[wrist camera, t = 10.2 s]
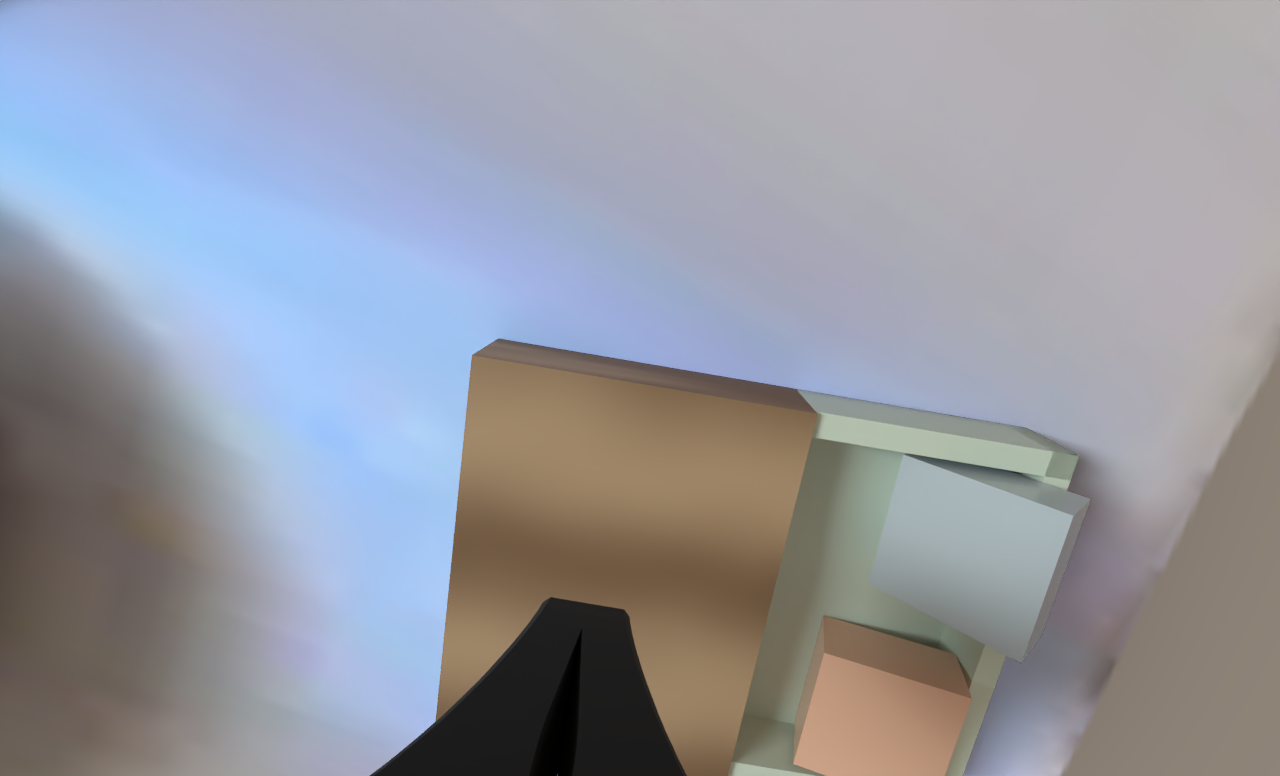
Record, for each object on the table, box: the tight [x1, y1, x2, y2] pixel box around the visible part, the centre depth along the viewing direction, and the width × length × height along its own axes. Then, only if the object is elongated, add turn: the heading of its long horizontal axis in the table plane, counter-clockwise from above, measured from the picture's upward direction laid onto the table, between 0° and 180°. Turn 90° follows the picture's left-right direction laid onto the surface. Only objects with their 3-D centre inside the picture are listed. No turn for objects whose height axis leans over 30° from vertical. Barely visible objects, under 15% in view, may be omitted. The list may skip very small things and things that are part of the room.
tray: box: [728, 389, 1079, 776], centre depth 19 cm, size 12×7×2 cm, turn 171°
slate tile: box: [869, 453, 1091, 664], centre depth 17 cm, size 4×4×2 cm
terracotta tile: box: [793, 615, 972, 776], centre depth 19 cm, size 4×4×2 cm
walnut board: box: [436, 339, 818, 776], centre depth 18 cm, size 12×9×3 cm
